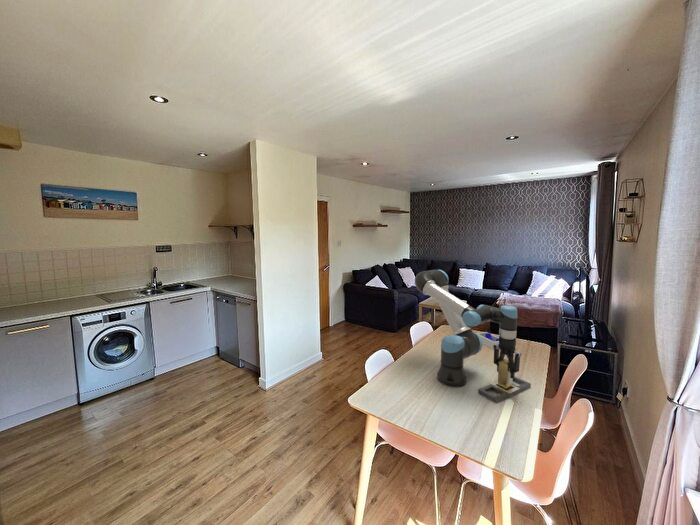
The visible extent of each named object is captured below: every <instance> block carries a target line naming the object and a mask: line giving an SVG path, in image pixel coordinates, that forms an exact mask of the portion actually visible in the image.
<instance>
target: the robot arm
mask: <svg viewBox="0 0 700 525" xmlns="http://www.w3.org/2000/svg"><path fill="white" fill-rule="evenodd" d="M414 285H415V287H416V289H417V291H419V292H420V293H422V294H423V295H424V296H429V297H431V298H432V299H434V300H435V301H436V302H437V303H438V305H439V307H440V309H441V311H442V313H443V315H444V318H445V319H446V321H447V323H448V325H449V327H450V330H451V332H452V334H451V335H446V336H444V337H442V339H441V344H440V366H439V369H438V371H437V376H436V378H437V381H438V382H440V384H443V385H445V386H448V387H454V388H456V387H457V388H459V387H463V386H465V385H466V384H467V379H468V378H467V375H466V372H465V369H464V364H465V363H464V362H465V361H464V360H465V359H467V358H470V357H473V356H476V355H477V354H479V353H480V352H481V351H482V348H483V344H482V340H481V338H480V336H479V335H478V334H476V333H477V332H474V331H473V330H472V328H471V327H476V326H479V325H482V324H485V323H488V322H493V323H497V324H499V330H498V337H499V345H498V344H496V345H493V347H494V349H493V364H495V366H496V369H497V370H496V372H497V373H498V372H499V361H501V360H503V359H505V357H506V358H507V360H508V361H509V367H510V371H509V372H508V384H514V381H513V378H514V377H516V376H515V373H518V372H520V362H521V356H522V353H521V352H518V351H517V349H516V345H517V328H518V326H517V324H518V308H517V307H515V306H513V305H508V304H507V305H500V307H495V306H492V305H488V304H480V305H478V306H477V307H476V308H474V307H473V306H471V305H470V304H468V303H466V302H465V301H463V300H462V299H460V298H459V297H457V296H455V295H454V294H452V293H450V292H449V288H450V286H449V276H448V274H447V273H446V272H445V271H444V270H442V269H432V270H431V269H430V270H423V271H419V273H417V274H416V276H415V278H414Z"/></svg>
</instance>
